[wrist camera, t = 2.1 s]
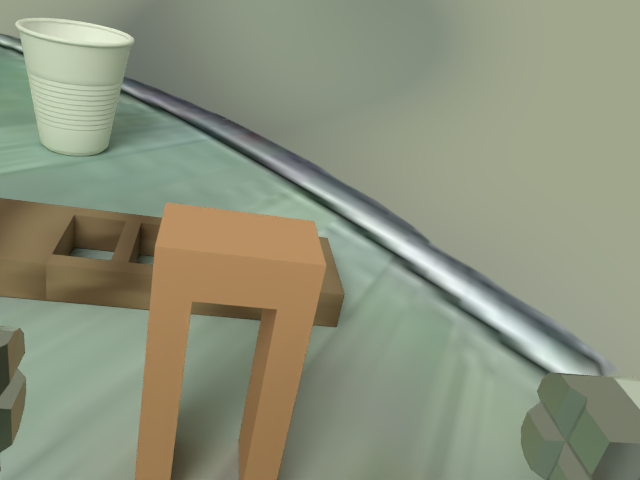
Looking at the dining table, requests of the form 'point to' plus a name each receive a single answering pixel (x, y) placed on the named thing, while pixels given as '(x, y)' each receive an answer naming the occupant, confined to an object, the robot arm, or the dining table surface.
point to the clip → (240, 290)
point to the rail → (106, 275)
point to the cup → (74, 81)
